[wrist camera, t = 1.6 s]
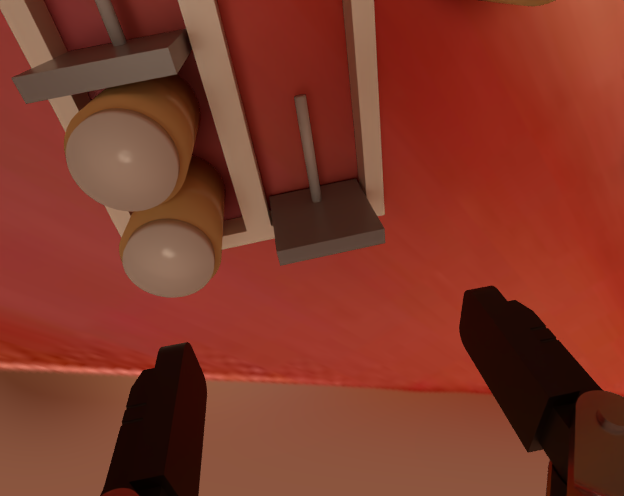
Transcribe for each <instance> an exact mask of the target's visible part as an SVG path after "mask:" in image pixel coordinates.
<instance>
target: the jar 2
mask: <svg viewBox="0 0 624 496" xmlns="http://www.w3.org/2000/svg"><path fill="white" fill-rule="evenodd" d="M224 205H225V185H224V182H223V179H222V177H221V175H220V174H219V172H218V171H217V170H216V169H215V168H214V167H213V166H212V165H211V164H210V163H208V162H207V161H205V160H203V159H201V158H198V157H195V156H191V160H190V164H189V168H188V171H187V175H186V178H185V181H184V183H183V185H182V187H181V189H180V190H179V191H178V193H177V194H176V195H175V196H174V197H172V198H171V199H170V200H168V201H167V202H165V203H163V204H161V205H158V206H156V207H153V208H151V209H147V210H143V211H133V213H132V215H131V217H130V219H129V222H128V224H127V226H126V228H125V231H124V233H123V235H122V237H121V240H120V245H119V252H120V257H121V261H122V263H123V267H124V270H125V272H126V274H127V276H128V277H129V279H130V280H131V281H132V282H133V283H134V284H135V285H136V286H138V287H139V288H141V289H142V290H144V291H146V292H148V293H151V294H154V295H157V296H162V297H182V296H187V295H190V294H193V293H195V292H197V291H199V290H200V289H202V288H203V287H204V286H205V285H206V284H207V283H208V282H209V280H210V279H211V278H212V277H213V276H214V275H215V274H216V272H217V270H218V268H219V266H220V262H221V253H222V237H223V221H224Z"/></svg>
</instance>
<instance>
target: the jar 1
mask: <svg viewBox="0 0 624 496" xmlns="http://www.w3.org/2000/svg"><path fill="white" fill-rule="evenodd" d="M200 120H201V112H200V106H199V102H198V99H197V97H196V95H195V93H194V91H193V90H192V88H191V87H190V85H189V84H188V83H187V82H186V81H185V80H184V79H183V78H182V77H180V76H179V75H178V74H175V75H170V76H165V77H160V78H155V79H150V80H145V81H140V82H135V83H130V84H124V85H119V86H114V87H109V88H106V89H105V90H103V91H102V92H101V93H100V94H99V95H98V96H96V97H95V98H94V99H93V100H92V101H91V102H89V103H88V104H87V105H86V106H85V107H84V108H82V109H81V110H80V111H79V112H78V113H77V114H76V115H75V116H74V117H73V118H72V120H71V121H70V123H69V125H68V127H67V129H66V133H65V138H64V151H65V156H66V161H67V165H68V168H69V171H70V173H71V175H72V177H73V179H74V180H75V182H76V183H77V185H78V186H79V187H80V188H81V189H82V190H83V191H84V192H85V193H86V194H87V195H88V196H90V197H91V198H92V199H94V200H95V201H97V202H99V203H101V204H103V205H105V206H107V207H110V208H113V209H116V210H121V211H131V212H132V211H143V210H147V209H151V208H153V207H156V206H158V205H161V204H163V203H165V202H167V201H168V200H170V199H171V198H172V197H174V196H175V195H176V194H177V193H178V191H179V190H180V189H181V187H182V185H183V183H184V181H185V178H186V175H187V171H188V168H189V164H190V160H191V156H192V152H193V148H194V144H195V141H196V137H197V133H198V129H199V125H200Z"/></svg>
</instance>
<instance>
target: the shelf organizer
mask: <svg viewBox="0 0 624 496" xmlns="http://www.w3.org/2000/svg"><path fill="white" fill-rule="evenodd" d="M342 1H343V12H344V23H345V34H346V46H347V57H348V68H349V79H350V90H351V101H352V112H353V123H354V134H355V145H356V156H357V167H358V178H359V185H360V187H361V189H362V190H363V192H364V194H365V196H366V197H367V199H368V201H369V203H370V204H371V206H372V208H373V210H374V211H375V213H376V215H377V216H381V215H385V211H384V191H383V171H382V152H381V132H380V112H379V92H378V73H377V53H376V33H375V14H374V0H342ZM95 2H96V5H97V7H98V10H99V12H100V15H101V17H102V20H103V22H104V25H105V27H106V30H107V32H108V34H109V37H110V39H111V42H112V43H109V44H104V45H99V46H93V47H88V48H83V49H78V50H73V51H69V52H68V51H67V49H66V47H65V45H64V43H63V40H62V38H61V36H60V34H59V32H58V30H57V28H56V26H55V23H54V21H53V19H52V17H51V15H50V13H49V11H48V9H47V6H46V4H45V2H44V0H0V10H1V11H2V13H3V15H4V17H5V19H6V21H7V23H8V25H9V27H10V28H11V30H12V32H13V34H14V36H15V38H16V40H17V42H18V44H19V45H20V47H21V49H22V51H23V53H24V55H25V57H26V59H27V60H28V62H29V64H30V66H31V68H32V69H30V70H27V71H25V72H23V73H21V74H19V75H16V76H14V77H12V80H13V82H14V84H15V85H16V87H17V89H18V91H19V92H20V94H21V96H22V98H23V99H24V101H25V103H26V104H28V103H33V102H38V101H43V100H49V102H50V104H51V106H52V108H53V110H54V111H55V113H56V115H57V117H58V119H59V121H60V123H61V125H62V126H63V128H64V130H65V132H66V129H67V127H68V125H69V123H70V121H71V120H72V118H73V117H74V116H75V115H76V114H77V113H78V112H79V111H80V110H81V109H82V108H84V107H85V106H86V105H87V104H88V103H89V102H91V100H90V98H89V96H88V94H87V92H89V91H94V90H99V89H104V88H109V87H114V86H119V85H124V84H130V83H135V82H140V81H145V80H150V79H155V78H160V77H165V76H170V75H175V74H177V73H178V72H179V70H180V68H181V67H182V65H183V63H184V62H185V60H186V59H187V57H188V55H189V54H190V52H191V51H192V50H193V53H194V56H195V60H196V63H197V66H198V70H199V73H200V76H201V80H202V83H203V86H204V90H205V93H206V96H207V100H208V103H209V106H210V110H211V113H212V116H213V120H214V123H215V126H216V130H217V133H218V136H219V140H220V143H221V146H222V150H223V153H224V156H225V160H226V163H227V166H228V170H229V173H230V176H231V180H232V183H233V186H234V190H235V193H236V197H237V200H238V203H239V207H240V210H241V213H242V217H239V218H234V219H230V220H225V221H223V237H222V249H227V248H231V247H236V246H241V245H246V244H250V243H255V242H260V241H264V240H269V239H274V238H275V235H274V228H273V221H272V213H271V211H269V208H268V204H267V200H266V196H265V192H264V188H263V184H262V180H261V176H260V172H259V168H258V164H257V160H256V156H255V152H254V148H253V144H252V140H251V136H250V132H249V128H248V124H247V120H246V116H245V112H244V108H243V104H242V100H241V96H240V92H239V88H238V84H237V80H236V76H235V72H234V68H233V64H232V60H231V56H230V52H229V48H228V44H227V40H226V36H225V32H224V28H223V24H222V20H221V16H220V12H219V8H218V4H217V0H178V3H179V6H180V9H181V13H182V16H183V19H184V23H185V26H186V29H187V30H186V29H182V30H177V31H171V32H166V33H161V34H156V35H151V36H145V37H140V38H135V39H130V40H126V39H125V36H124V34H123V31H122V29H121V26H120V23H119V21H118V18H117V16H116V13H115V10H114V8H113V5H112V3H111V0H95ZM104 206H105V205H104ZM105 208H106V209H107V211H108V213H109V215H110V217H111V219H112V221H113V223H114V225H115V226H116V228H117V230H118V232H119V234H120V236H121V237H122V235H123V233H124V231H125V228H126V226H127V224H128V222H129V219H130V217H131V215H132V213H133V211H132V212H131V211H121V210H116V209H113V208H110V207H107V206H105Z"/></svg>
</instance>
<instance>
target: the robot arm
mask: <svg viewBox="0 0 624 496" xmlns="http://www.w3.org/2000/svg"><path fill="white" fill-rule="evenodd" d="M459 330H460V336H461V340H462V343H463V345H464V347H465V349H466V351H467V352H468V354H469V356H470V357H471V359H472V361H473V362H474V364H475V366H476V367H477V369H478V371H479V372H480V374H481V376H482V377H483V379H484V380H485V382H486V384H487V385H488V387H489V389H490V390H491V392H492V394H493V395H494V397H495V399H496V400H497V402H498V404H499V405H500V407H501V408H502V410H503V412H504V414H505V415H506V417H507V419H508V420H509V422H510V424H511V425H512V427H513V429H514V430H515V432H516V434H517V435H518V437H519V439H520V440H521V442H522V444H523V445H524V447H525V449H526V450H527V452H533V451H537V450H542V449H544V451H545V452H546V454H547V456H548V457H549V459H550V461H549V465H548V474H547V488H546V496H624V397H622V396H620V395H617V394H615V393H612V392H608V391H603V390H602V389H601V388H600V387H599V386H598V385H597V384H596V382H595V381H594V380H593V379H592V378H591V377H590V376H589V374H588V373H587V372H586V371H585V370H584V369H583V368H582V366H581V365H580V364H579V363H578V362H577V361H576V360H575V358H574V357H573V356H572V355H571V354H570V353H569V352H568V350H567V349H566V348H565V347H564V346H563V345H562V344H561V342H560V341H559V340H558V341H557V340H556V337H555V336H554V334H553V333H552V332H551V331H550V330H549V329H548V328H546V325H545V324H544V323H543V322H542V321H541V320H540V318H539V317H538V316H537V315H536V314H535V313H534V312H533V311H532V310H531V309H529V308H527V307H526V306H524V305H523V304H521V303H519V302H518V301H516V300H512V301H507V300H506V299H505V298H504V296H503V295H502V294H501V293H500V292H499V290H498V289H497V288H496V287H494V286H487V287H482V288H477V289H471V290H467V291H465V293H464V297H463V304H462V311H461V318H460V326H459ZM206 400H207V387H206V381H205V377H204V374H203V372H202V369H201V367H200V365H199V363H198V360H197V358H196V356H195V353H194V351H193V349H192V347H191V345H190V343H188V342H186V343H181V344H176V345H171V346H165V347H161V348H160V349H159V352H158V355H157V360H156V364H155V368H152V369H147V370H143V371H142V373H141V374H140V376H139V377H138V379H137V380H136V382H135V383H134V385H133V386H132V388H131V391H130V394H129V398H128V402H127V405H126V407H127V409H126V410H125V413H124V416H123V420H122V426H121V427H120V431H119V434H118V438H117V442H116V446H115V449H114V453H113V457H112V460H111V464H110V467H109V471H108V475H107V478H106V482H105V485H104V488H103V491H102V493H101V495H100V496H198V493H199V481H200V470H201V458H202V447H203V436H204V424H205V413H206Z"/></svg>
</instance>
